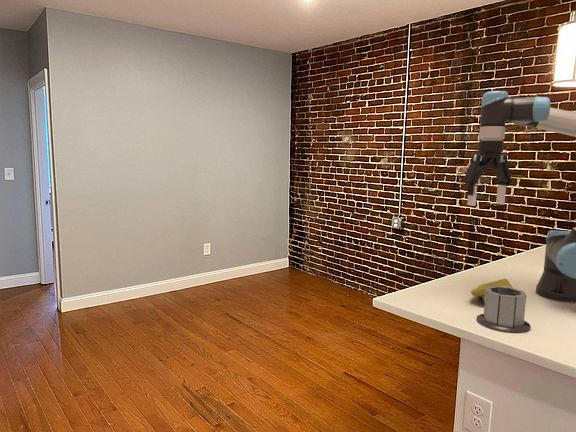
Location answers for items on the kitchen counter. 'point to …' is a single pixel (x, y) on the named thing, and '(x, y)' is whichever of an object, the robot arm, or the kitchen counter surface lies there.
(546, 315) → the kitchen counter surface
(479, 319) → the duct stub
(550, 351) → the kitchen counter surface
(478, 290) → the plastic component
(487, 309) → the collar
